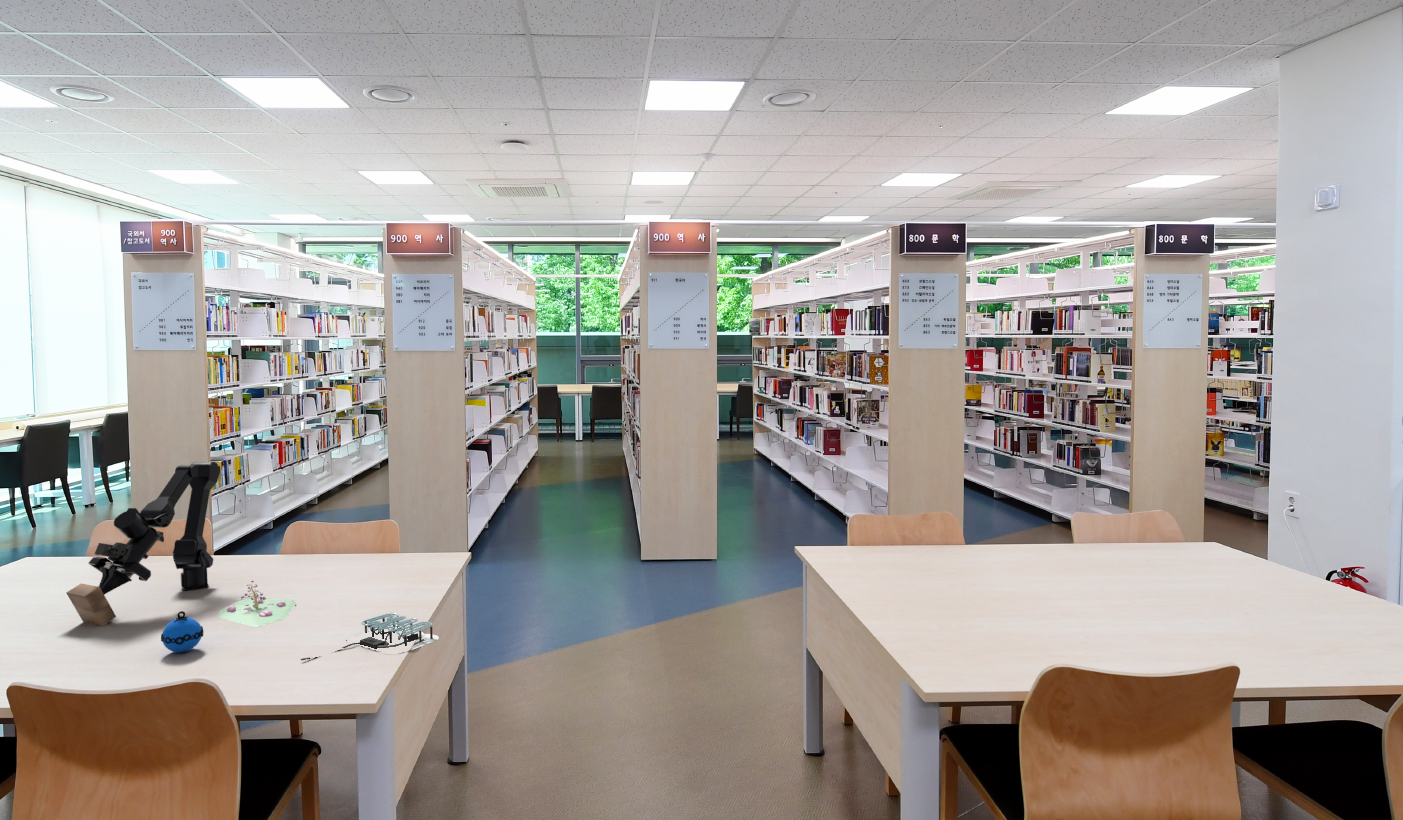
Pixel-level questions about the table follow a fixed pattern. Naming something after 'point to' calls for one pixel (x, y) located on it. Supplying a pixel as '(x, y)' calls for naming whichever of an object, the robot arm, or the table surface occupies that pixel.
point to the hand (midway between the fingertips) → (97, 595)
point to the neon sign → (384, 625)
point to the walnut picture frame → (91, 604)
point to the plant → (257, 610)
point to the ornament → (182, 634)
